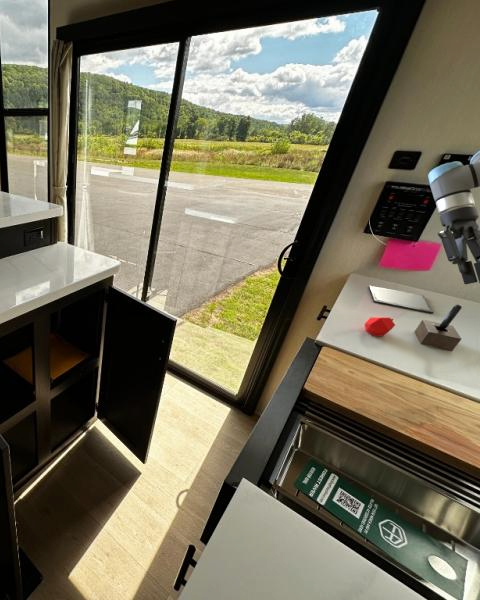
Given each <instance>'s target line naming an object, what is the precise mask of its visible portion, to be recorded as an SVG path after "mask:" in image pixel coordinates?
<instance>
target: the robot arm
mask: <svg viewBox="0 0 480 600" xmlns="http://www.w3.org/2000/svg"><path fill="white" fill-rule="evenodd" d="M427 177H428V182H429V187H430V190H431V193H432V196H433V199H434V202H435V205H436V209H437V212H438V215H439V221H440V223H441V226H442V228H445V229H443V230H441V231H438V232H437V236H438V237H439V239H440V240H441V243H442V247H443V249H444V252H445V255H446V257H447V261H448V262H450V263H451V264H452V265H457V268H458V272H459V273H460V274H461V277H462V280H463V285H470V284H475V283H479V284H480V226H479V224H478V223H477V220H478V219H479V217H480V215H479V211H478V210H477V209H478V208H477V207H476V201H475V199H474V196H473V193H472V191H471V190H472V189H476V188H479V187H480V150H479V151H476V153H475V154H474V155H472V157H471V159H470V161H469V164H466V165H464V164H463V163H462V162H461V161H452V162H446V163H444V164H440V165H439V166H436V167H435V168H433V169H432V170H430V172H429V173H428V176H427ZM468 249H469V251H470V254H471V255H472V257H473V259H474V261H475V262H474V263H473V261H472V260H469V257H468V256H469V255H468Z"/></svg>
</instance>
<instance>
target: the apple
mask: <svg viewBox="0 0 480 600" xmlns="http://www.w3.org/2000/svg"><path fill="white" fill-rule="evenodd" d="M395 326H396V324H395V323H394V318H391V317H387V316H386V317H385V316H379V317H377V316H376V317H369V318H368V319H367V321H365V323H364V328H365V329H364V330H365V331H366V332H367V333H368V334H370V335H371V336H374V337H375V336H377V337H385V336H386V335H388V333H389V332H391V331H392V330H393V329H394V327H395Z"/></svg>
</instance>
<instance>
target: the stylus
mask: <svg viewBox="0 0 480 600" xmlns="http://www.w3.org/2000/svg"><path fill="white" fill-rule="evenodd" d="M462 308H463V306H462V305H460V304H455V305H454V306H453V307H452V308H451V309H450V311H449V312H448V314H447V315H446V316H445V317H444V319H443V320H442V321H441V322H440V323H441V324H440V326H439V327H438V328H437V330H439V331H445V329H446V328H447V327H448V325H451V323H452V322H453V321H454V319H455V317H456V316H457V315H458V314H459V312H460V311H461V310H462Z"/></svg>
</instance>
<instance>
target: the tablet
mask: <svg viewBox="0 0 480 600" xmlns="http://www.w3.org/2000/svg"><path fill="white" fill-rule="evenodd" d="M368 289H369V290H368V291H369V293H370V295H371V298H372V301H373V303H377V304H382V305H387V306H391V307H397V308H401V309H407V310H411V311H416V312H422V313H427V314H432V315H433V314H434V313H435V312H434V310H433V309H432V307H431V305H430V303H429V302H428V299H426V297H425V295H424V294H418V293H413V292H407V291H401V290H395V289H390V288H385V287H379V286H373V285H368Z"/></svg>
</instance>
